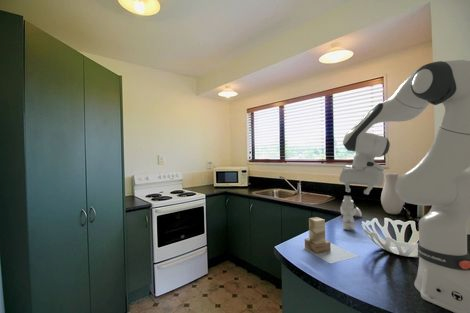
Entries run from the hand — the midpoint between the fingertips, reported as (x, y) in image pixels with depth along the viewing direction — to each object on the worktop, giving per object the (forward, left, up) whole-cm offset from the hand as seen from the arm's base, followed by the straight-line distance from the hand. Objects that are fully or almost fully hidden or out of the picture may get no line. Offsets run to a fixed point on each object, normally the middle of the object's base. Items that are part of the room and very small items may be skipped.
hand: (356, 192), depth 103 cm
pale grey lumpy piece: (+42, -43, -27) cm, 66 cm away
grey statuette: (+21, -17, -27) cm, 38 cm away
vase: (+35, -76, -27) cm, 87 cm away
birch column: (+5, +20, -21) cm, 29 cm away
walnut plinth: (+5, +20, -27) cm, 33 cm away
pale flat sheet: (+1, +17, -27) cm, 31 cm away
